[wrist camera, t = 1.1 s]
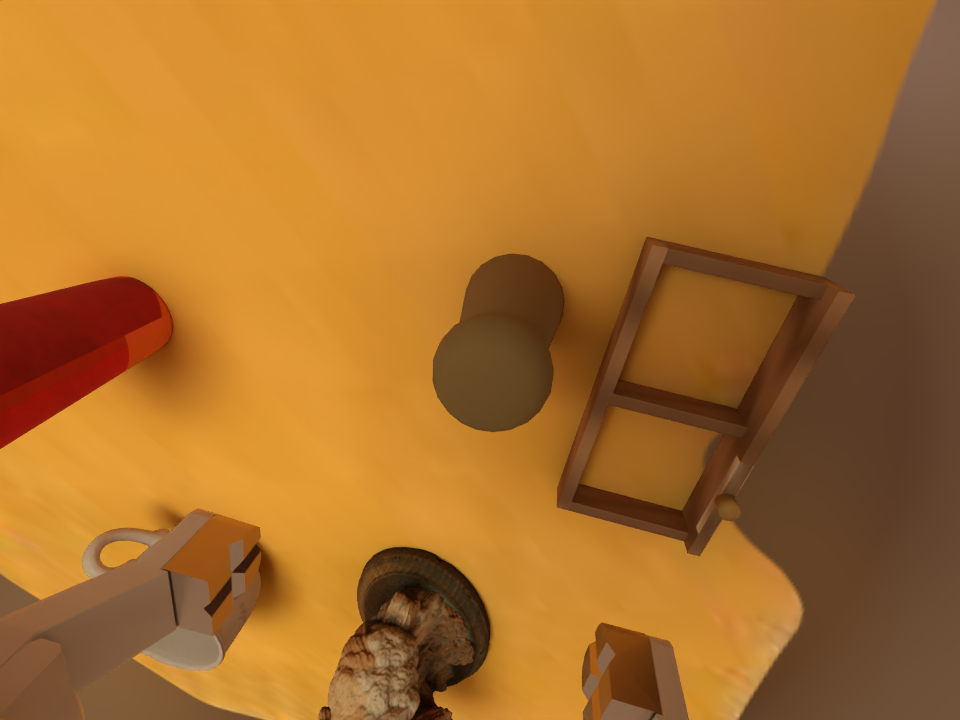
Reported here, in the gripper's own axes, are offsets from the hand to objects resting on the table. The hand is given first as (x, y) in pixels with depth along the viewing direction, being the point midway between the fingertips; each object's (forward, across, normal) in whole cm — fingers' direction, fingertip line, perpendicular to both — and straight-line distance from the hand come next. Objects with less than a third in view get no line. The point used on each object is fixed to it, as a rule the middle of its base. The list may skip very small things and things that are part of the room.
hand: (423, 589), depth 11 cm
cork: (+20, 0, -1) cm, 20 cm away
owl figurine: (+21, +1, +31) cm, 37 cm away
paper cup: (+20, +26, +7) cm, 34 cm away
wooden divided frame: (+20, -11, +3) cm, 23 cm away
